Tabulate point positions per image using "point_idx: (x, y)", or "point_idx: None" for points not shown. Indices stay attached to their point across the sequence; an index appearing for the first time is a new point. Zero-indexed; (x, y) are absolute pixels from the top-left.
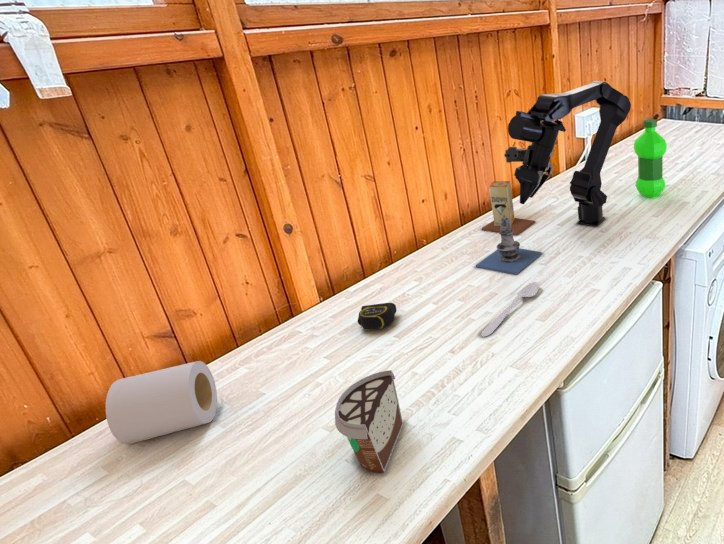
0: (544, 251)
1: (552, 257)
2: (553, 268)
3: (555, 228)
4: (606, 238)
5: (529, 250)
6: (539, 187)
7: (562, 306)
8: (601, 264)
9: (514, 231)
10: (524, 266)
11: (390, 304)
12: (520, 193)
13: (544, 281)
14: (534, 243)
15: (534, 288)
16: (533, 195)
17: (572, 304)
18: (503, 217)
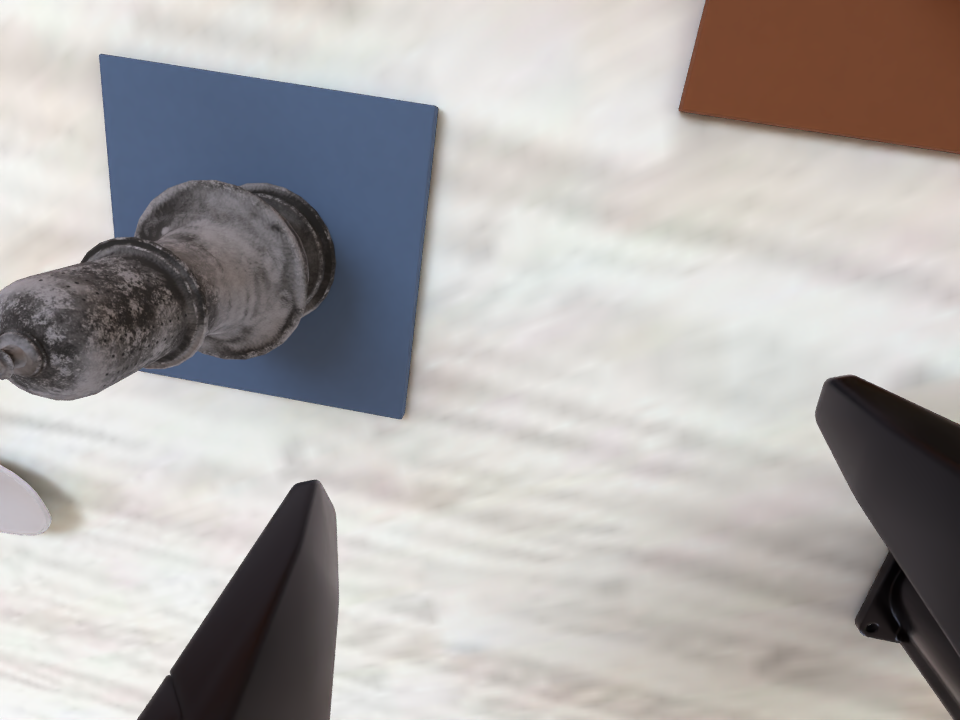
0: (444, 418)
1: (381, 483)
2: (267, 521)
3: (834, 375)
4: (674, 689)
5: (404, 339)
6: (944, 630)
7: (7, 627)
8: (373, 702)
9: (727, 69)
10: (213, 382)
11: None
12: (199, 634)
13: (138, 516)
14: (549, 314)
15: (27, 514)
16: (837, 458)
17: (36, 655)
18: (2, 347)
